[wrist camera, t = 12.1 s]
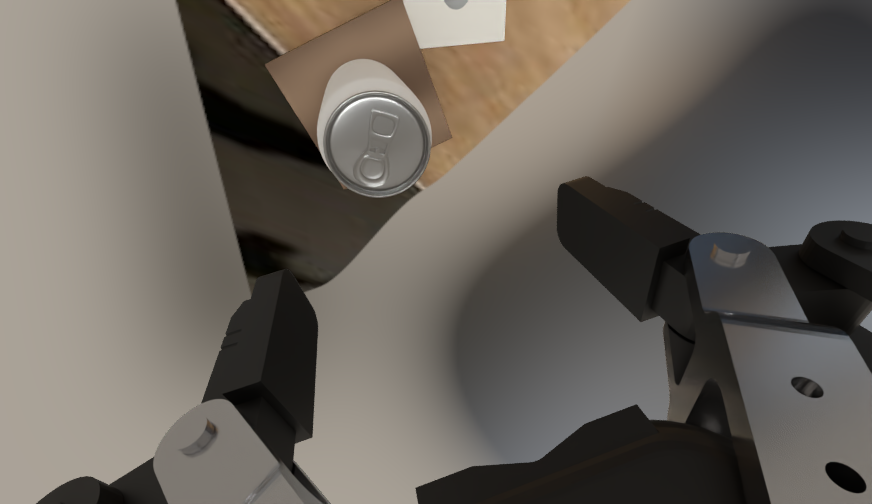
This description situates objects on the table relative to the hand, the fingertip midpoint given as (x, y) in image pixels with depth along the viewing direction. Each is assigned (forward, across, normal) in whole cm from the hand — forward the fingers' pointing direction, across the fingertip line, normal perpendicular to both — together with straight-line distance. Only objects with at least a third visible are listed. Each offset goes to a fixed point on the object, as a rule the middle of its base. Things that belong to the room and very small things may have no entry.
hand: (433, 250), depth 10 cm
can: (+22, 0, 0) cm, 22 cm away
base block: (+26, 0, 0) cm, 26 cm away
